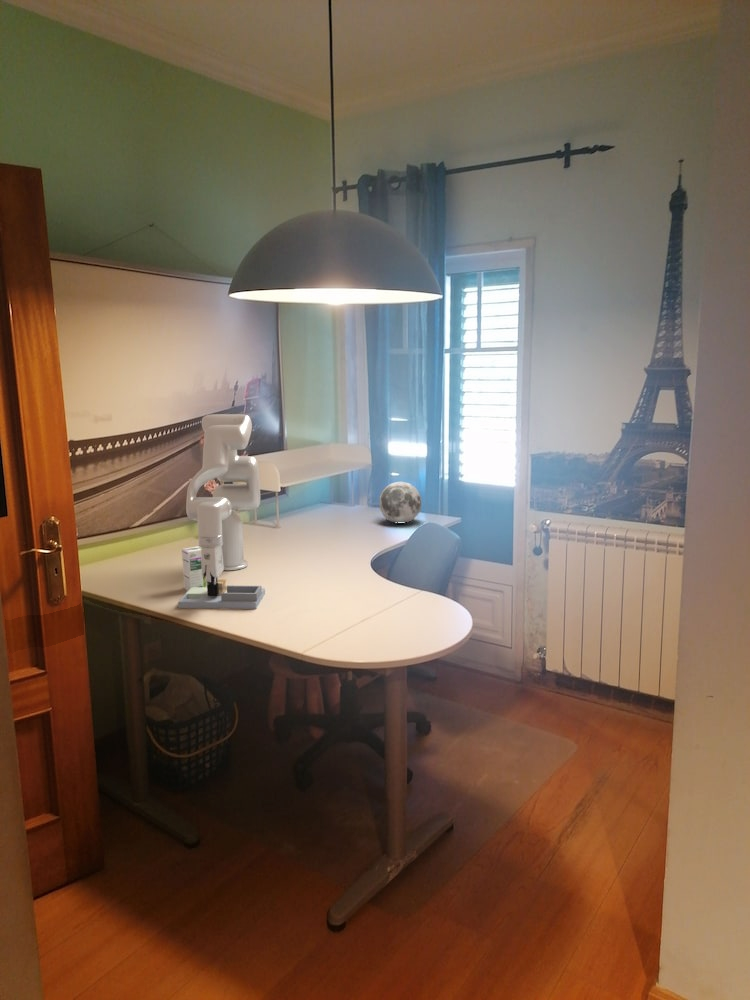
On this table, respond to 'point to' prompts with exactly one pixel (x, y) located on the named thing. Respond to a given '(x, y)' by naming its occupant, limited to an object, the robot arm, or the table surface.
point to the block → (221, 586)
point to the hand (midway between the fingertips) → (213, 595)
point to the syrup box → (192, 568)
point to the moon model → (400, 502)
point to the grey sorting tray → (223, 598)
